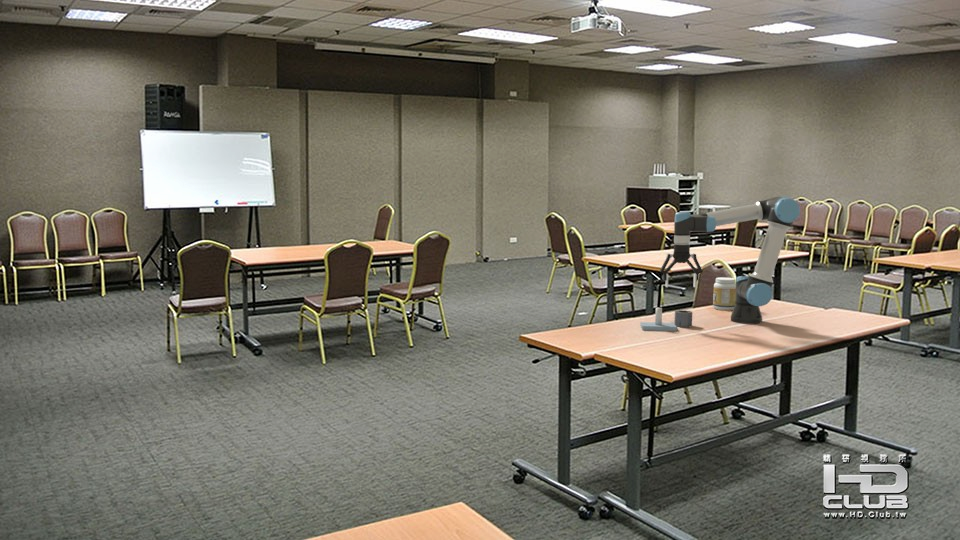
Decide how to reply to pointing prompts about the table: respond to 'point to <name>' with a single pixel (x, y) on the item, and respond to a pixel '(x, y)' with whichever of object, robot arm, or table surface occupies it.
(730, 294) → the supplement tub
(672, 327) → the shaft block
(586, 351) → the table surface
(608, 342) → the table surface
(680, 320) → the cylinder
